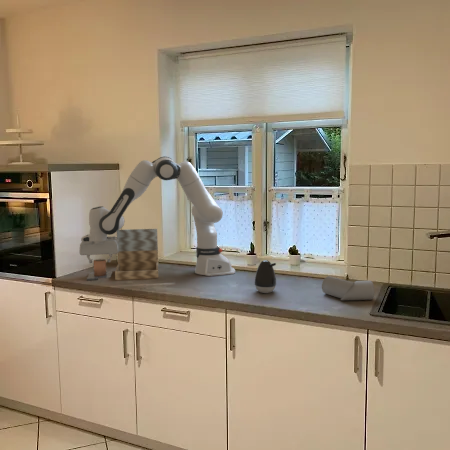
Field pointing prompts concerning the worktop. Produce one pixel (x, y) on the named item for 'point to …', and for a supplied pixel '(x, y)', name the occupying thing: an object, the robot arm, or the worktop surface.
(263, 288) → the pump dispenser
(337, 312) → the worktop surface
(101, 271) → the terracotta pot
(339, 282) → the bent grey cylinder
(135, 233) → the brown patterned open box
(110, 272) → the slate tile
